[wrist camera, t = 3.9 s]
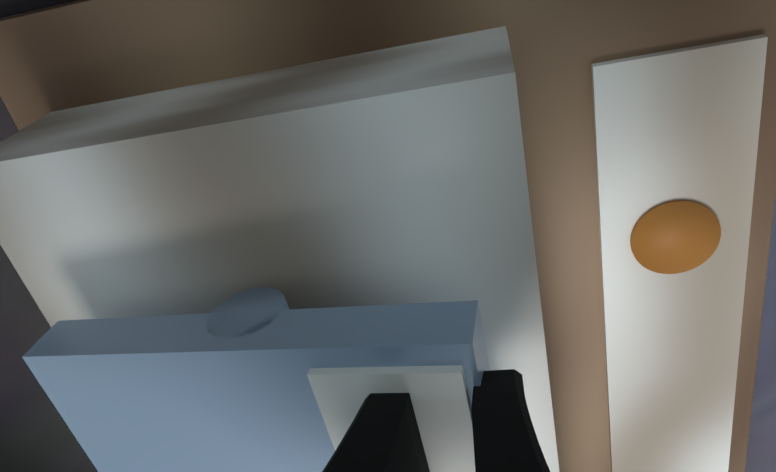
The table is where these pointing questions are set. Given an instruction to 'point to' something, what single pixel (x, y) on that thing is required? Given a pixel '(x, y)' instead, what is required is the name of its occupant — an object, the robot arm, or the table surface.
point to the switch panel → (423, 186)
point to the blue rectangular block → (260, 382)
